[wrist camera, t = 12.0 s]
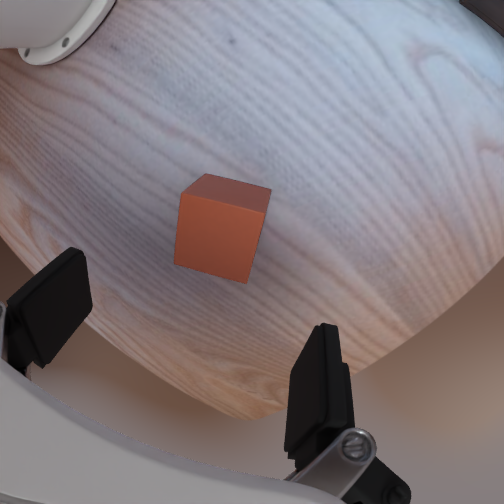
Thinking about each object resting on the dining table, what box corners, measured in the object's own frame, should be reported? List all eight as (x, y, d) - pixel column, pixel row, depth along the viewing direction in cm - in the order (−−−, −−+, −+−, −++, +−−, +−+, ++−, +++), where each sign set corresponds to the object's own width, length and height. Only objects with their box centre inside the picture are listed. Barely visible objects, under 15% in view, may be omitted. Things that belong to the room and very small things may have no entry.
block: (195, 232, 20) (173, 264, 16) (205, 173, 17) (180, 192, 14) (255, 248, 19) (246, 284, 16) (271, 189, 17) (265, 213, 13)
